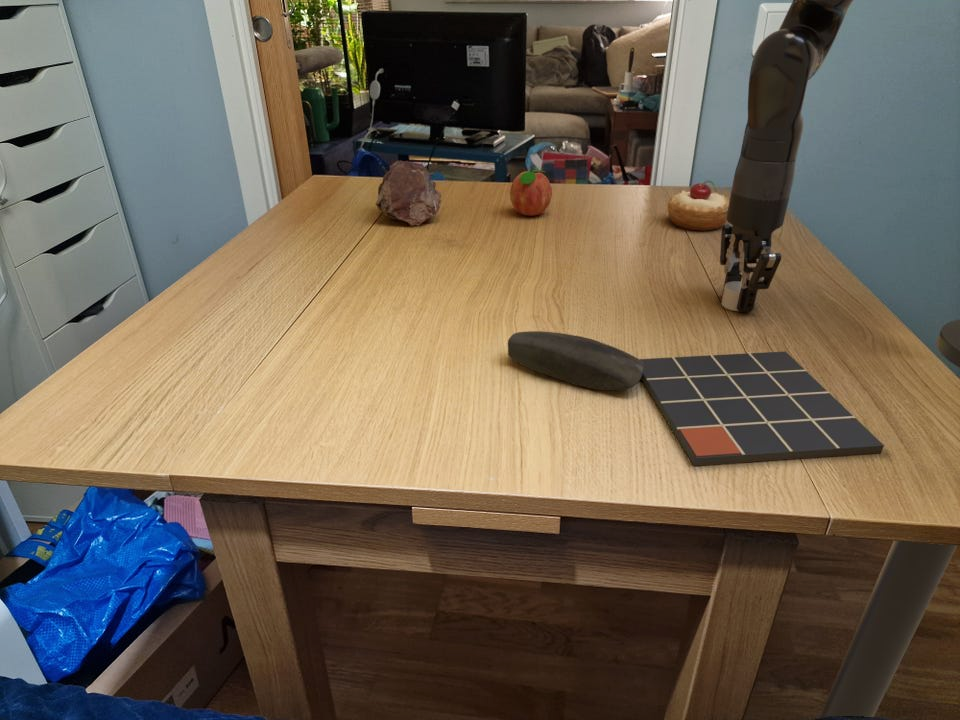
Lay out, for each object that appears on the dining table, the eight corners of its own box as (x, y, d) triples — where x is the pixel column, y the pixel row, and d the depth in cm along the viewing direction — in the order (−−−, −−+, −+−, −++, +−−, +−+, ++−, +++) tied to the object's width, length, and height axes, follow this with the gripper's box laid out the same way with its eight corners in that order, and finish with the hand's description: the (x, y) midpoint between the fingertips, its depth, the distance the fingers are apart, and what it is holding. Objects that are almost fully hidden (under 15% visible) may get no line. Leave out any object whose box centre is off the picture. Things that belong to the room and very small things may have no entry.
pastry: (688, 211, 140) (694, 168, 136) (739, 224, 132) (748, 179, 128) (653, 222, 133) (659, 178, 129) (705, 237, 125) (713, 190, 121)
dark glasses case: (648, 375, 81) (652, 345, 79) (635, 401, 76) (640, 370, 74) (518, 347, 88) (519, 319, 86) (499, 369, 83) (500, 340, 81)
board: (783, 357, 85) (785, 350, 85) (881, 453, 68) (884, 444, 67) (632, 366, 83) (633, 358, 83) (693, 466, 66) (695, 457, 66)
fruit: (500, 215, 137) (501, 166, 132) (525, 204, 144) (527, 158, 139) (535, 223, 133) (537, 173, 128) (559, 211, 140) (562, 163, 135)
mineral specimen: (391, 247, 135) (389, 204, 144) (450, 226, 132) (444, 184, 142) (365, 203, 126) (365, 160, 136) (427, 180, 124) (423, 138, 134)
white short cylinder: (744, 298, 101) (747, 280, 100) (757, 311, 97) (761, 292, 96) (716, 299, 101) (719, 281, 99) (728, 312, 97) (732, 293, 96)
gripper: (815, 204, 85) (784, 324, 93) (762, 176, 97) (739, 284, 106) (759, 206, 84) (733, 326, 93) (713, 177, 96) (694, 286, 105)
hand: (736, 303), depth 99 cm, fingers closed on white short cylinder, 4 cm apart
